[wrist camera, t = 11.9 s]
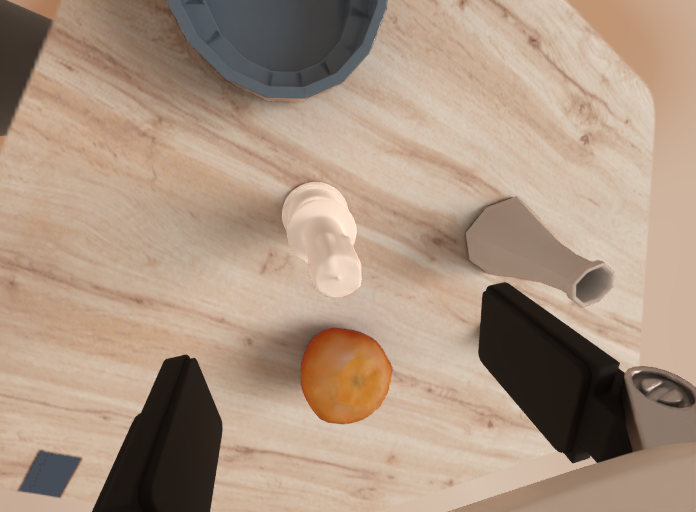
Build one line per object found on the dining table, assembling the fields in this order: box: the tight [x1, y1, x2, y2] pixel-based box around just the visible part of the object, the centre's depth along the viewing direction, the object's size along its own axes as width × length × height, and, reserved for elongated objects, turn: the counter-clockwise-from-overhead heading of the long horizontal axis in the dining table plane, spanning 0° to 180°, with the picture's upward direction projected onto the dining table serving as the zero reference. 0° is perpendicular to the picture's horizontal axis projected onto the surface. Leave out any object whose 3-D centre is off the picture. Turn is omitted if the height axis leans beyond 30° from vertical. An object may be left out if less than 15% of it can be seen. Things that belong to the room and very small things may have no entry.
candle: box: [282, 182, 361, 298], centre depth 21 cm, size 5×5×12 cm
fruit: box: [301, 328, 392, 424], centre depth 29 cm, size 8×8×8 cm
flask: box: [466, 196, 614, 308], centre depth 26 cm, size 7×7×10 cm
